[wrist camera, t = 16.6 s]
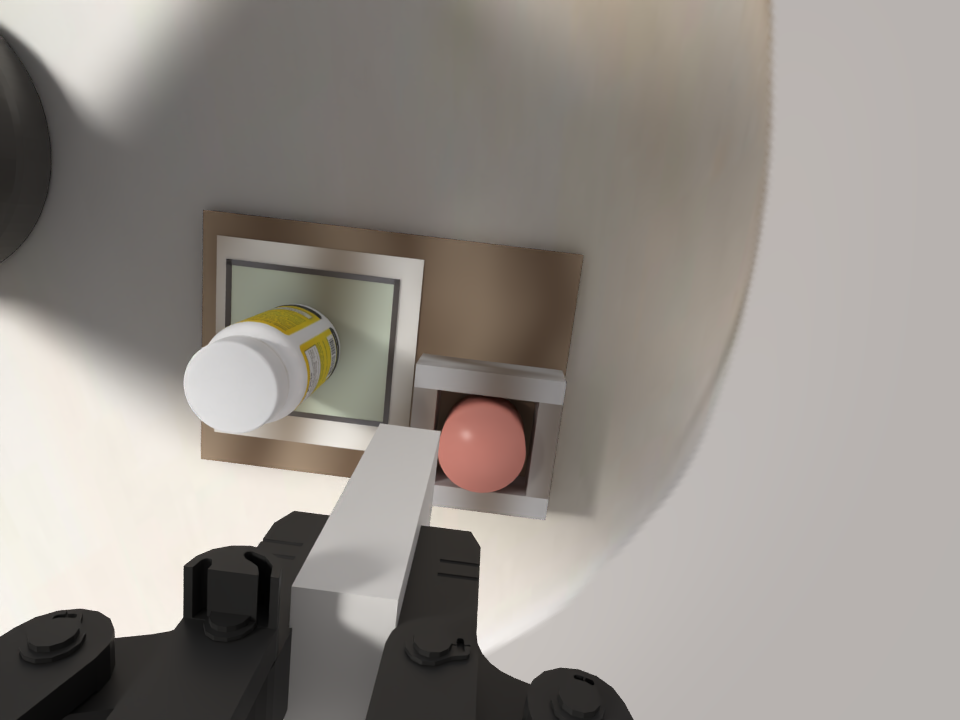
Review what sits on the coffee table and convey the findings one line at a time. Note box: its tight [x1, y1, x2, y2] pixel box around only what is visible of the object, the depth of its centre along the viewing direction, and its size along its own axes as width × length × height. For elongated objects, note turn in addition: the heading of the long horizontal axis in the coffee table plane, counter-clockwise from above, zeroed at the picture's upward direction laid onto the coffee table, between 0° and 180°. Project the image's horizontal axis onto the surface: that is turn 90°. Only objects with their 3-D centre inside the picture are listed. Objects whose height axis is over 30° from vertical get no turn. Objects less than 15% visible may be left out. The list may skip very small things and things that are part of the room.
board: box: [201, 210, 584, 520], centre depth 32 cm, size 20×14×3 cm
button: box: [438, 394, 526, 493], centre depth 32 cm, size 4×4×3 cm
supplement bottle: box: [184, 304, 340, 434], centre depth 29 cm, size 5×5×8 cm
